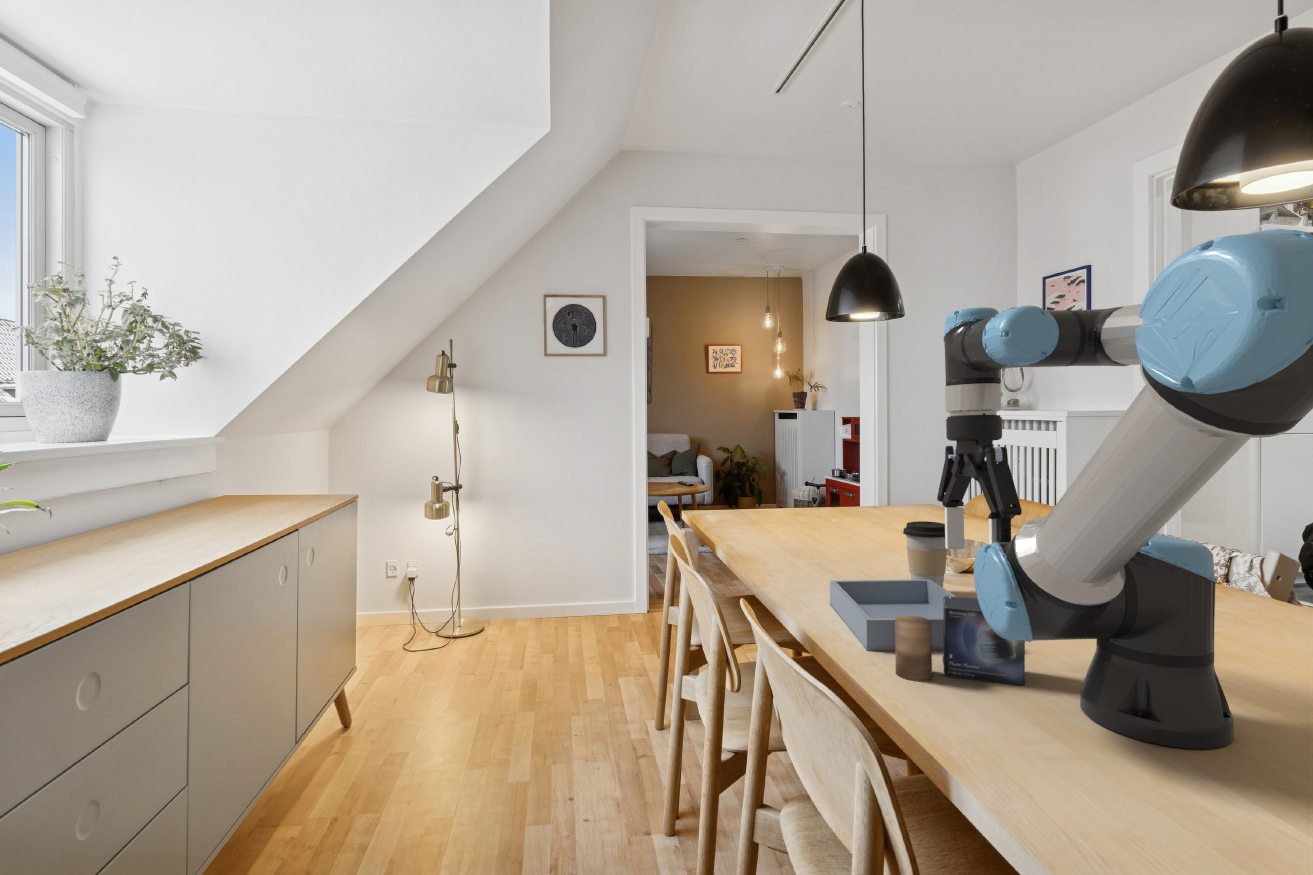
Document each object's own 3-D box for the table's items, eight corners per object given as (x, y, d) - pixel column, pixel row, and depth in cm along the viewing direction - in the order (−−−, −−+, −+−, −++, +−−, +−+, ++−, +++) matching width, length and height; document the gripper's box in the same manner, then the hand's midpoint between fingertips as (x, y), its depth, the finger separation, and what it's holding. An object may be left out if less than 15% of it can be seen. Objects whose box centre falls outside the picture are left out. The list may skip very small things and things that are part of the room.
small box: (943, 677, 96) (943, 606, 96) (942, 662, 102) (941, 594, 102) (1026, 687, 92) (1026, 613, 92) (1019, 670, 98) (1019, 600, 98)
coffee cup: (942, 588, 144) (942, 520, 144) (958, 600, 135) (957, 527, 134) (898, 588, 145) (897, 520, 145) (910, 600, 136) (909, 528, 135)
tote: (991, 649, 107) (991, 618, 107) (866, 650, 108) (866, 620, 108) (930, 603, 133) (929, 579, 133) (830, 605, 134) (829, 580, 134)
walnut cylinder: (937, 680, 95) (936, 625, 95) (902, 681, 95) (901, 626, 95) (924, 667, 100) (923, 615, 100) (891, 667, 100) (890, 615, 100)
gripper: (1049, 410, 86) (1052, 572, 86) (958, 416, 111) (961, 542, 111) (992, 411, 86) (995, 574, 86) (914, 417, 111) (917, 543, 111)
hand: (976, 556), depth 99 cm, fingers open, 13 cm apart
